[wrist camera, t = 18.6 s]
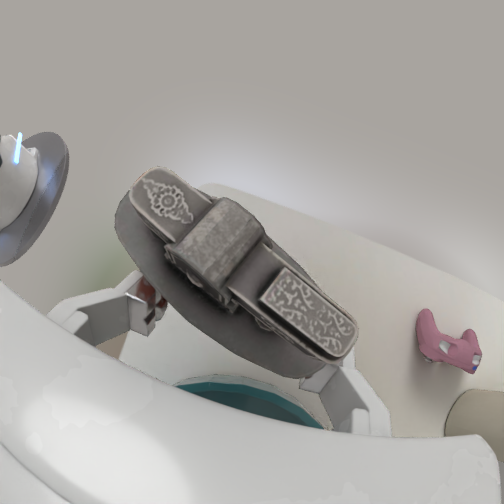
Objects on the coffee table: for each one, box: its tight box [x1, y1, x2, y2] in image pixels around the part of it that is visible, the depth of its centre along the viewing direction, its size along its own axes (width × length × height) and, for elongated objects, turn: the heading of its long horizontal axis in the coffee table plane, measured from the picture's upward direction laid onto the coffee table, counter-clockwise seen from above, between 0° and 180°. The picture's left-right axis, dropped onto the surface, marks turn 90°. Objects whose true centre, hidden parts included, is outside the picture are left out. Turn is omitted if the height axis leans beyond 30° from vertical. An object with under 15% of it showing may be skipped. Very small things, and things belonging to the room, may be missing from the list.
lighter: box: [115, 166, 359, 379], centre depth 10 cm, size 8×3×10 cm, turn 51°
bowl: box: [172, 374, 324, 429], centre depth 19 cm, size 21×21×5 cm
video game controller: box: [416, 309, 482, 374], centre depth 23 cm, size 10×5×7 cm, turn 66°
